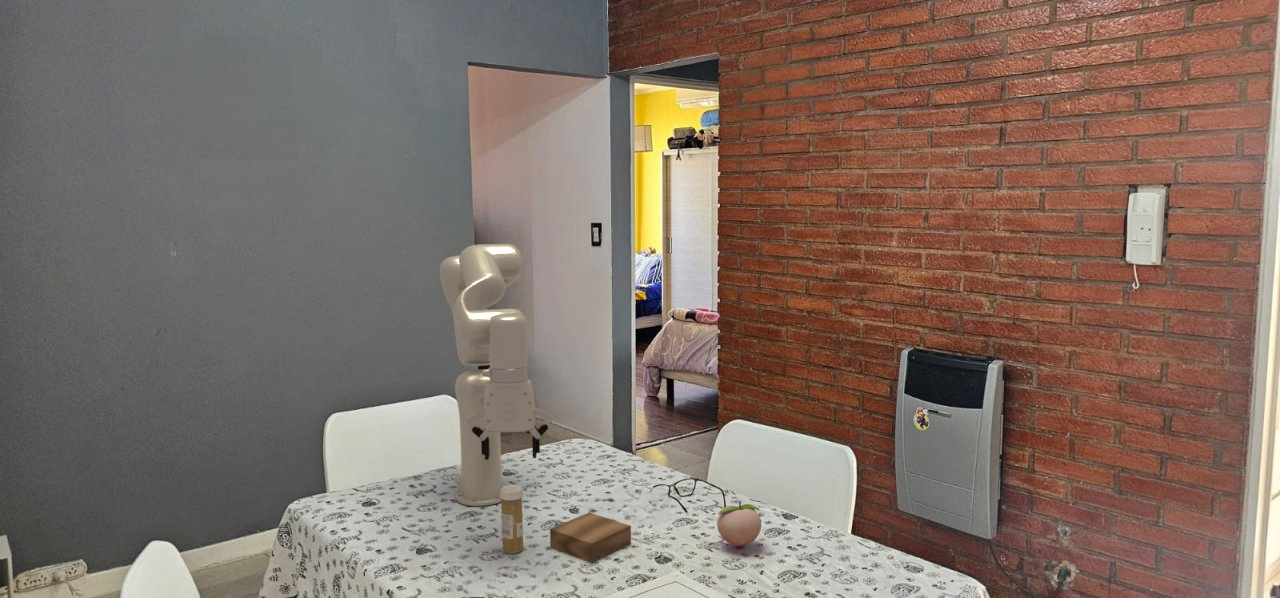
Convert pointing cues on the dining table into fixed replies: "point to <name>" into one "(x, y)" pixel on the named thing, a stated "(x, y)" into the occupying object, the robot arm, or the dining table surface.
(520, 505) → the sprinkles bottle
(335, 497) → the dining table surface
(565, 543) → the walnut stand
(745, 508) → the decorative fruit
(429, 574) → the dining table surface
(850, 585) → the dining table surface
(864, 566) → the dining table surface
